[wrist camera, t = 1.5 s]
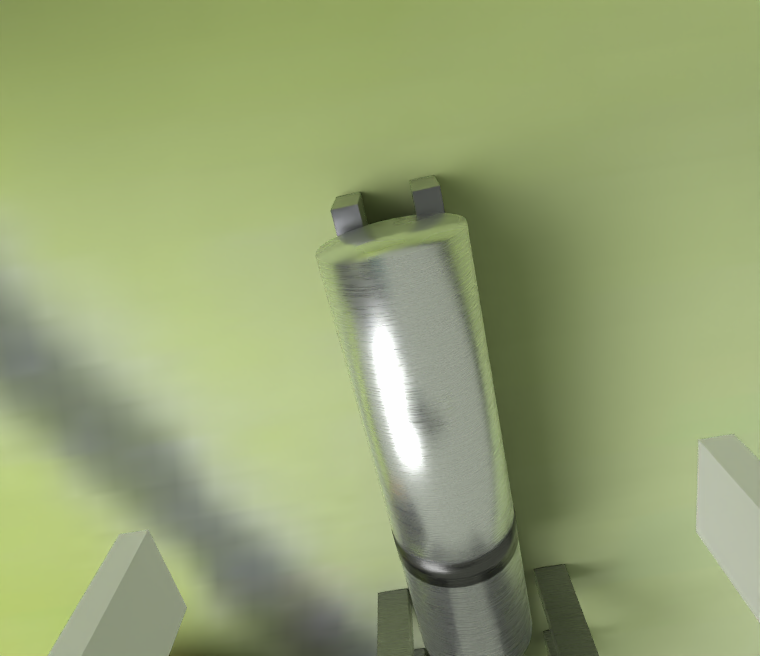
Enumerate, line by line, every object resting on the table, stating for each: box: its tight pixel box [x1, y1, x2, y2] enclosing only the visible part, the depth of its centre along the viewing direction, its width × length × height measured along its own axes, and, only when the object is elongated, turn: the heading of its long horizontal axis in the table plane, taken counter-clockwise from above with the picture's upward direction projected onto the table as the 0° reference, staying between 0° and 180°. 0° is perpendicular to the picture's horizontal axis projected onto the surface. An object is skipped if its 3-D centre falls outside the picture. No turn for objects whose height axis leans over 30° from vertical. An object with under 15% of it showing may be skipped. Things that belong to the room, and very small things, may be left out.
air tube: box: [316, 213, 532, 656], centre depth 26 cm, size 22×6×6 cm, turn 13°
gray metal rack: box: [331, 175, 599, 656], centre depth 28 cm, size 39×12×13 cm, turn 13°
